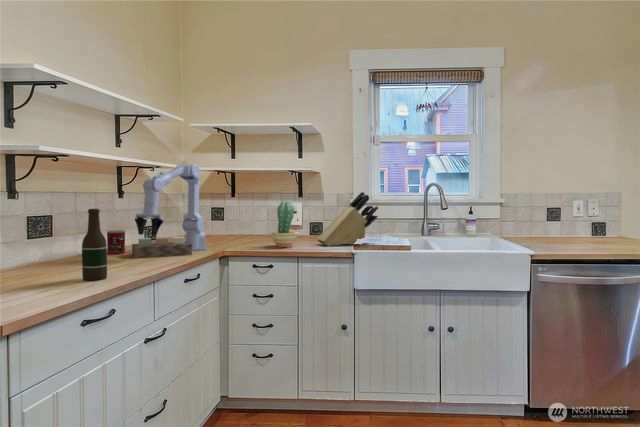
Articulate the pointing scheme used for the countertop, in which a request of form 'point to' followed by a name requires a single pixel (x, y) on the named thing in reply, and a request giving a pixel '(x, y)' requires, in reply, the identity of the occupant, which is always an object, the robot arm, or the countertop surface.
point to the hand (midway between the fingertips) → (147, 234)
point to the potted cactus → (284, 226)
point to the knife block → (349, 223)
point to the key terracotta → (162, 241)
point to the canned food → (116, 241)
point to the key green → (144, 241)
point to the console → (161, 250)
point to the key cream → (178, 240)
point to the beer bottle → (94, 250)
